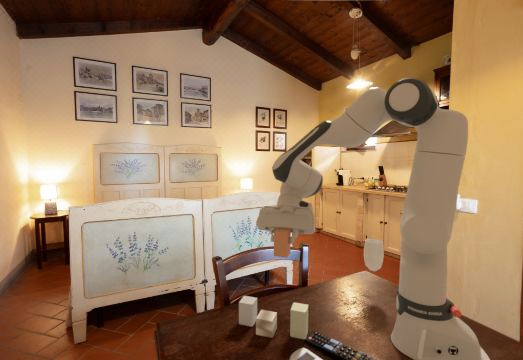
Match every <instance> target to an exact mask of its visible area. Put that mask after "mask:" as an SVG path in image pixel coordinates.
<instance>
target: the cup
mask: <svg viewBox="0 0 523 360" xmlns="http://www.w3.org/2000/svg"><path fill="white" fill-rule="evenodd" d="M384 258H385V247H384V242H383V241H382V240H381V239H377V238H366V239H365V241H364V246H363V260H364V261H363V262H364V265H365V267H366V268H368V270H369V271H371V272H377V271H378V270H380V269H381V268H382V266H383V262H384Z"/></svg>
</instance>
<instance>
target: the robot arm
mask: <svg viewBox="0 0 523 360" xmlns="http://www.w3.org/2000/svg"><path fill="white" fill-rule="evenodd" d="M390 121H392V122H395V123H397V124H400V125H402V126H405V127H407V128H411V129H415V130H416V133H417V137H416V139H417V140H416V143H415V145H416V146H415V149H414V155H413V159H412V160H413V161H412V164H411V169H410V171H411V172H410V176H409V180H408V186H407V191H406V195H405V199H404V203H403V204H404V205H403V209H402V214H401V218H400V224H399V234H400V235H401V247H400V260H399V281H398V290H396V291H397V292H396V297H395V299H396V300H395V301H396V302H395V305H396V311H397V312H396V318H395V324H394V326H393V327H394V328H393V330H392V332H391V335H390V339H391V340H390V341H391V343H392V344H393V346H394V347H395V348H396V349H397V350H398V351H400V352H401V353H402V354H404V355H405V356H407V357H409V358H410V359H412V360H491V359H490V357H489V356H488V354H487V353H486V351H485V350H484V349H483V347H481V345H480V343H479V339H478V337H477V335H476V334H475V332H474V331H473V329H471V327H470V326H469V325H468V324H466V323H465V322H464V321H463V320H462V319H460V318H461V317H462V316H463V314H462V312H461V311H462V310H460V308H459V307H457V306H455V304H454V303H453V301H451V300H450V299H449V298H448V297H447V289H448V288H447V287H448V285H447V284H448V244H449V242H450V240H451V237H452V232H453V228H454V221H455V214H456V208H457V201H458V195H459V193H458V192H459V186H460V183H461V178H462V174H463V168H464V163H465V159H466V154H467V147H468V138H469V121H468V118H467V116H466V115H465V114H463V113H462V112H460V111H457V110H453V109H444V108H441V107H440V101H439V99H438V97H437V95H436V93H435V91H434V90H433V89H432V88H431V87H430V86H429V85H428V84H427V83H426V82H425V81H423V80H421V79H418V78H413V77H409V78H407V77H406V78H402V79H400V80H397V82H395V83H393V84H392V85H391V86H390V87H389V89H388V90H386V89H383V88H381V87H377V86H376V87H370V88H368V89H367V90H366V91H364V92H363V93H362V94H361V95H360V96H359V97H357V98H356V99H355V100H354V101H353V102H352V103H351V104H350V105H349V106H348V107H347V108H346V109H345V111H344V112H343V113H342V114H341V115H339V116H338V117H336V118H334V119H332V120H323V121H322V122H320V123H319V124H317V125H316V126H315V127H313V129H311V130H310V131H309V132H307V134H305V135H304V136H303V137H302V138H301V139H300V140H299V141H298V142H296V143H295V144H294V145H293V146H292V147H290V148H289V149H287V150H286V151H285V152H283V153H282V154H280V155H279V156H278V158H277V159H275V161H274V162H273V165H272V168H271V170H272V174H273V176H274V179H275V180H276V181H278V182H281V185H280V190H279V193H280V194H279V196H278V198H277V203H276V206H267V205H266V206H264V207H261V208H260V209H259V213H258V217H257V219H256V222H255V225H256V227H257V230H259V231H265V232H266V231H267V232H268V231H269V233H270V234H271V237H270V242H271V243H274V231H276V230H277V229H287V230H291V234H292V235H291V237H289V240H288V242H289V244H290V245H294V243H295V240H296V239H297V238H298V237H299V234H302V235H303V234H304V235H313V234H314V233H315V231H316V221H315V220H316V218H315V215H314V214H315V213H314V207H313V204H312V203H311V202H308V201H305V200H304V199H307V198H310V197H313V196H315V195H317V194H318V193H319V192H321V189H322V187H323V182H324V179H323V174H322V172H320V171H319V170H317V169H316V168H314V167H312V166H311V165H309V164H308V163H306V162H304V160H303V161H302V159H303V158H304V157H305V156H306V155H307V154H308V153H310V152H311V151H312V150H313V149H315V148H316V147H318V146H321V145H327V146H328V145H329V146H330V145H332V146H335V147H340V148H345V149H346V148H347V149H348V148H349V149H350V148H351V149H353V148H357V147H360V146H361V145H363V144H364V143H366V142H367V141H368V140H369V139H370V138H371V137H372V136H373V135H374V134H375V133H376V132H377V131H378V130H379V128H380V127H382V126H383V125H384V124H385V123H387V122H390Z"/></svg>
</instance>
